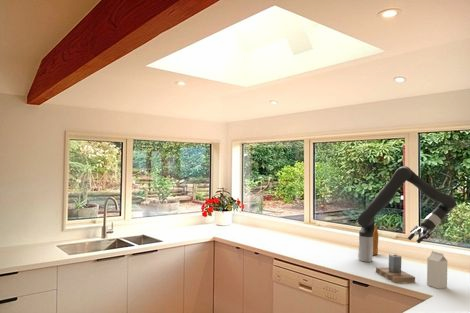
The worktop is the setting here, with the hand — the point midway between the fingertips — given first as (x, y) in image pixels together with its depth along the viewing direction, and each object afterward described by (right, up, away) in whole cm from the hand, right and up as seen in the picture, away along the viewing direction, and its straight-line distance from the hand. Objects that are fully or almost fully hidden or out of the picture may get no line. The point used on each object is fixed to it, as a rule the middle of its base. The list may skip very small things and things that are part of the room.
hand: (413, 240), depth 218 cm
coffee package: (-7, -23, +53) cm, 58 cm away
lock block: (-13, -18, -4) cm, 23 cm away
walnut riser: (-13, -21, -4) cm, 25 cm away
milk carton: (+4, -22, -19) cm, 29 cm away
